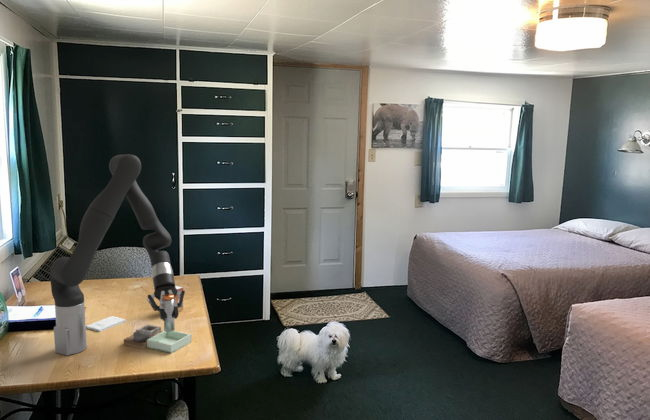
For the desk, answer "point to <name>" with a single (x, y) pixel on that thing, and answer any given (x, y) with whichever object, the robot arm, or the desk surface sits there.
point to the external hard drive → (105, 323)
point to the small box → (179, 298)
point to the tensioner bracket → (142, 336)
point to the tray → (169, 341)
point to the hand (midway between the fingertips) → (170, 318)
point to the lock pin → (168, 312)
